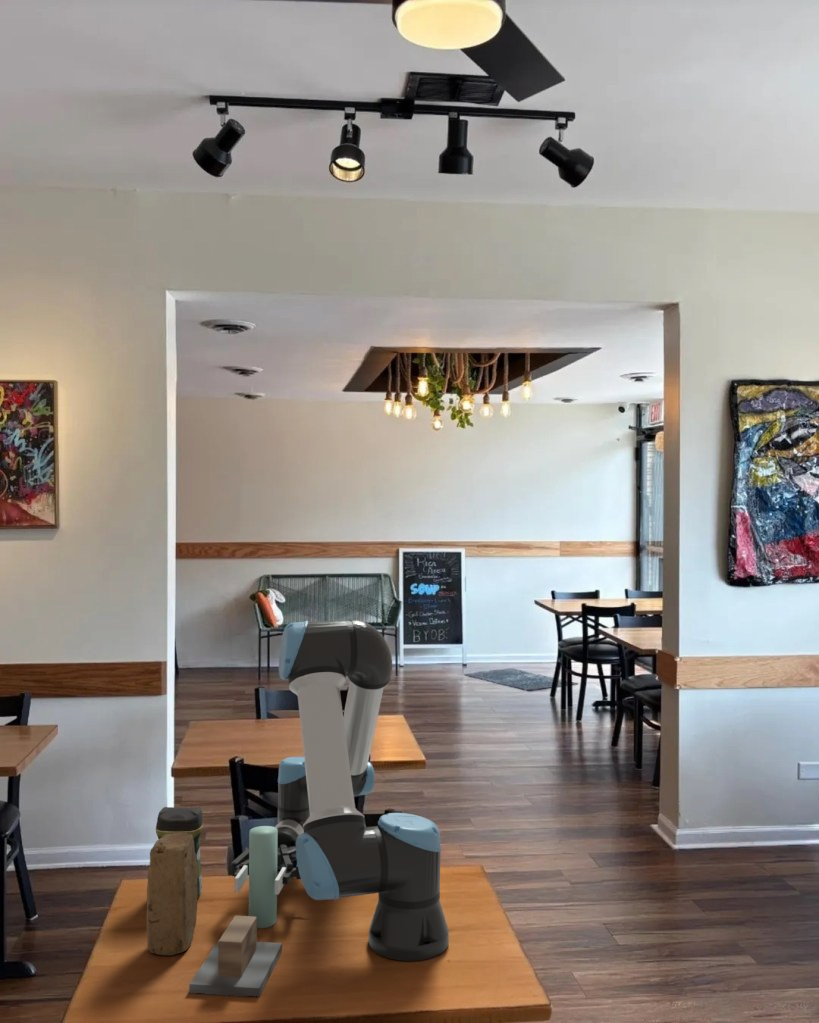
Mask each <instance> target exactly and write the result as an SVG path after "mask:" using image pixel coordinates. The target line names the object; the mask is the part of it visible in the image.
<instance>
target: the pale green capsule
mask: <svg viewBox="0 0 819 1023" xmlns="http://www.w3.org/2000/svg"><path fill="white" fill-rule="evenodd" d="M248 836H249V837H248V838H249V839H248V840H249V841H248V845H249V875H248V916H255V917H257V929H266V928H271V927H273V926H274V924H275V923H277V922H278V915H277V914H278V913H277V912H278V908H277V907H278V894H275V879H276V877H277V876H278V866H277V839H278V830H277V828H275V826H271V825H260V826H255V827H253V828H251V829H249V834H248ZM272 925H273V926H272ZM275 925H276V924H275ZM270 926H271V927H270Z"/></svg>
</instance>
